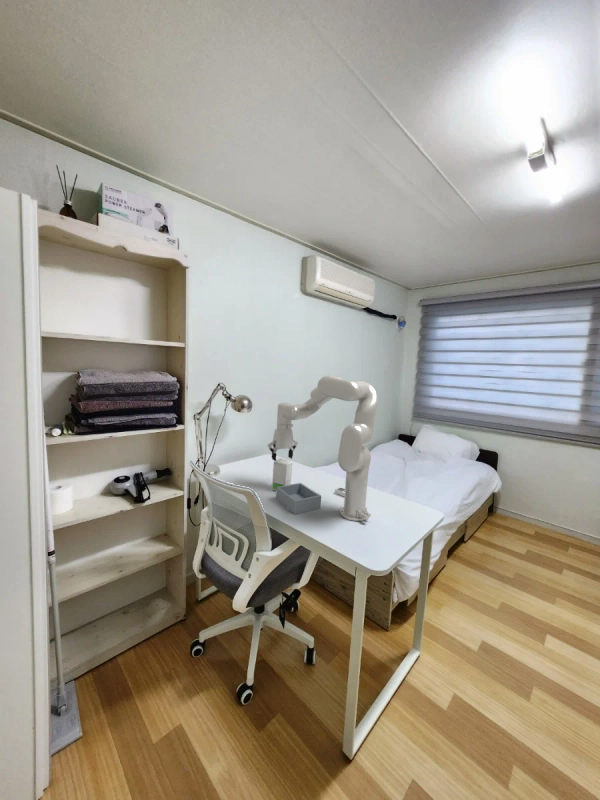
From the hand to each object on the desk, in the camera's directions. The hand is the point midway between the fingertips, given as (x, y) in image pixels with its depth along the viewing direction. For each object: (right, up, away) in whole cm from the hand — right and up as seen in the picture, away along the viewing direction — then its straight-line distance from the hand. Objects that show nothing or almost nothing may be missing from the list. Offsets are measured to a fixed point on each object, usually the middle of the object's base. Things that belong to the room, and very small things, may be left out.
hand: (282, 458), depth 161 cm
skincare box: (0, -17, +2) cm, 17 cm away
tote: (+8, -19, -14) cm, 25 cm away
